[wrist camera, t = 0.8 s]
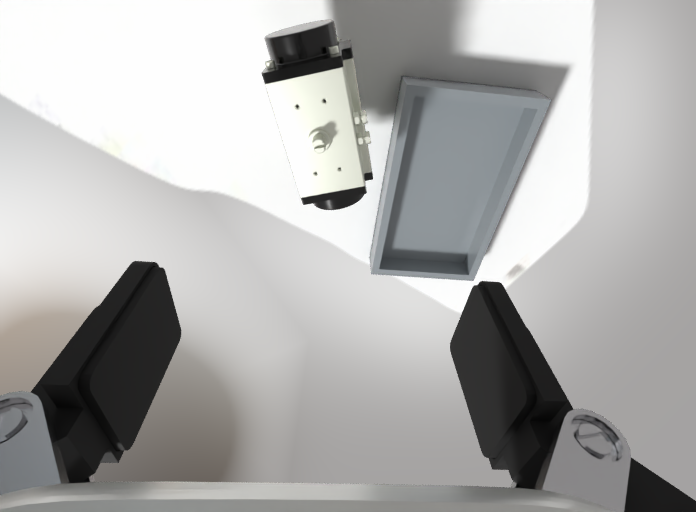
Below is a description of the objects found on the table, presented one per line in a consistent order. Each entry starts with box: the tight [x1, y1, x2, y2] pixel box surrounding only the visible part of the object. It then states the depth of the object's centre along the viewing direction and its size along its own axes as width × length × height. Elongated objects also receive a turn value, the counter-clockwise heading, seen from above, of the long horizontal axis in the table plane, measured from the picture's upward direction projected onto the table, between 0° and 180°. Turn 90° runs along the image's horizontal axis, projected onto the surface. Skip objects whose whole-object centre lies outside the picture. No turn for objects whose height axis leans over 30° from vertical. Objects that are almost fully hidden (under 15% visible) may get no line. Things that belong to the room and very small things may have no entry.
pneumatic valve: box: [262, 20, 373, 210], centre depth 27 cm, size 6×12×12 cm, turn 11°
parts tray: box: [370, 76, 551, 281], centre depth 36 cm, size 20×12×3 cm, turn 174°
